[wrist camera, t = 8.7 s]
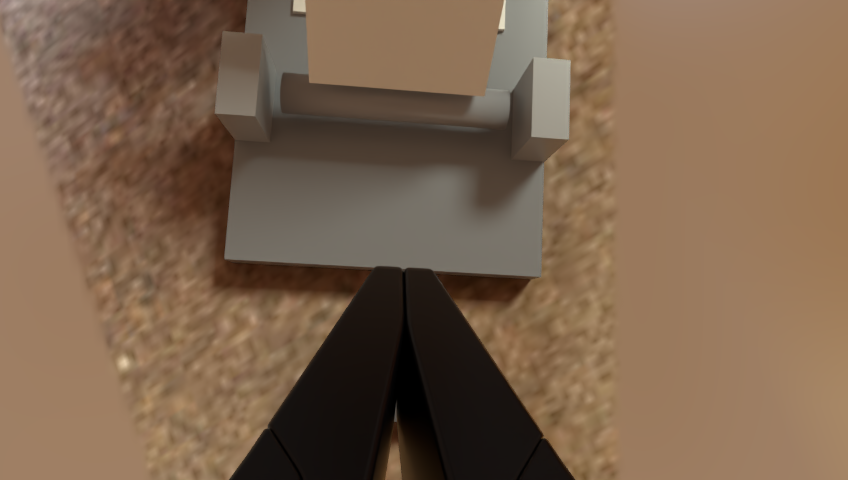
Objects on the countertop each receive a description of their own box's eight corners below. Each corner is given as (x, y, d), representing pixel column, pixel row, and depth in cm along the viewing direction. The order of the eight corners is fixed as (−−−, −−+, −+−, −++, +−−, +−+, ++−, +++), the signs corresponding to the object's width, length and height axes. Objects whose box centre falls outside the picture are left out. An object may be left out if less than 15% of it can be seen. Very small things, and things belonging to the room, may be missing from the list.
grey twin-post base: (531, 279, 21) (566, 271, 17) (232, 262, 20) (201, 250, 17) (540, -49, 23) (573, -121, 19) (262, -76, 22) (240, -157, 18)
